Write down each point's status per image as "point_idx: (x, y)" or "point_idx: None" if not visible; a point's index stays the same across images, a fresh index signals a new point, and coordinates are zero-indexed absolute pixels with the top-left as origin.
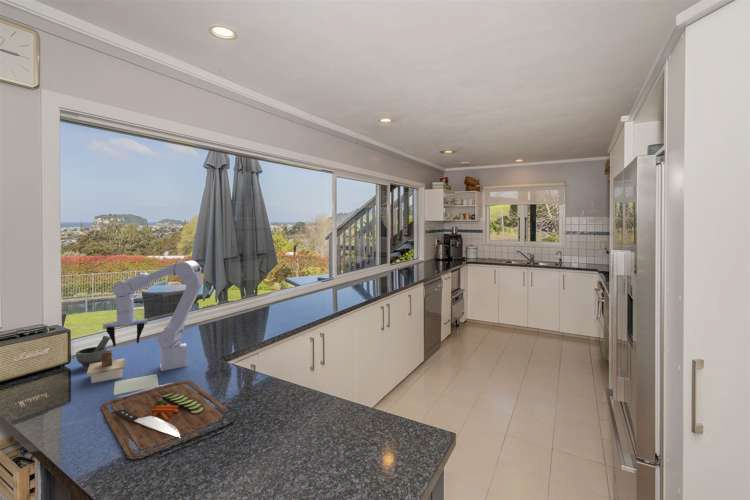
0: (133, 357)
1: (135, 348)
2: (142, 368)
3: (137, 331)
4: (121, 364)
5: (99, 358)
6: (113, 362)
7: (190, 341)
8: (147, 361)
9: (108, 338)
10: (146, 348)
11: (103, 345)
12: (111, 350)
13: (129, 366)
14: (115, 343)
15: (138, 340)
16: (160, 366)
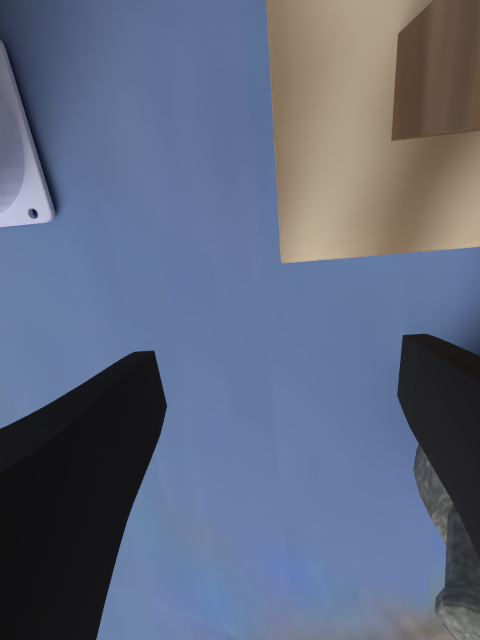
0: (252, 463)
1: (256, 583)
2: (167, 218)
3: (23, 451)
4: (301, 28)
5: None
6: (378, 164)
7: None
8: (161, 355)
9: (463, 600)
10: (204, 563)
11: None
12: (473, 118)
13: (258, 309)
14: (411, 384)
15: (118, 363)
16: (30, 157)
